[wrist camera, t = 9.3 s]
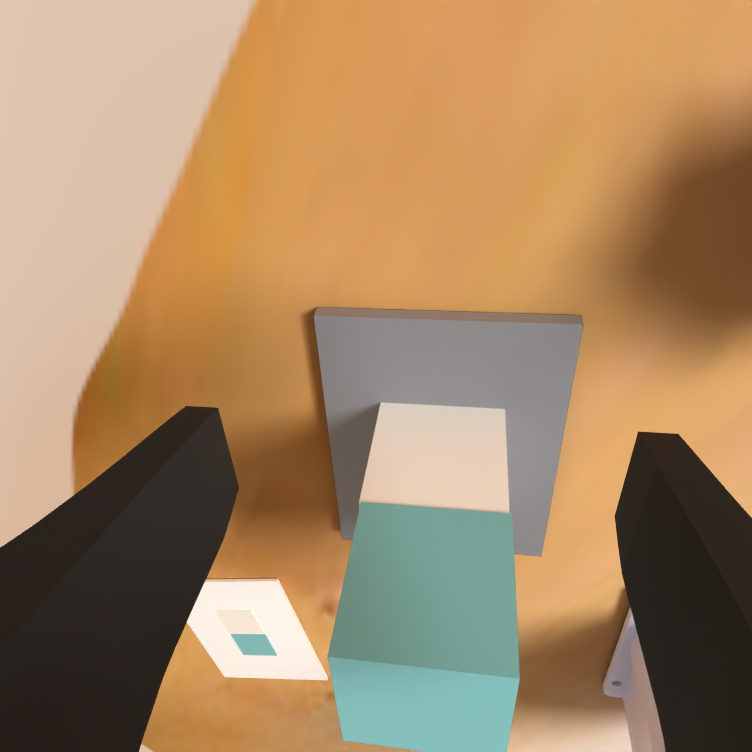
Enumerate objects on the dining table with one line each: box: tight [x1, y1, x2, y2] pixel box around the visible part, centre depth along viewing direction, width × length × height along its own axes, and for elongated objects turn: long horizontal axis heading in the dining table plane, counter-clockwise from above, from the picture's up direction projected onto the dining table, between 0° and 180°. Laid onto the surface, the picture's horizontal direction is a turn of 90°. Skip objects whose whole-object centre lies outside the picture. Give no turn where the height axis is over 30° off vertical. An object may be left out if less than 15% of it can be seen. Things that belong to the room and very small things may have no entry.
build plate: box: [314, 307, 584, 556], centre depth 24 cm, size 12×9×1 cm
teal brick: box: [328, 502, 520, 752], centre depth 18 cm, size 5×5×5 cm
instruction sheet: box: [187, 578, 328, 680], centre depth 35 cm, size 10×7×1 cm
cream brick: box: [359, 402, 510, 513], centre depth 22 cm, size 5×5×5 cm
